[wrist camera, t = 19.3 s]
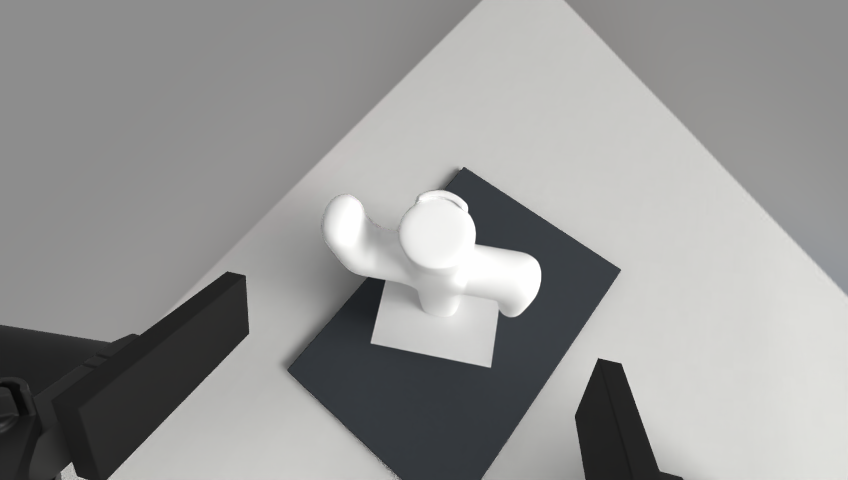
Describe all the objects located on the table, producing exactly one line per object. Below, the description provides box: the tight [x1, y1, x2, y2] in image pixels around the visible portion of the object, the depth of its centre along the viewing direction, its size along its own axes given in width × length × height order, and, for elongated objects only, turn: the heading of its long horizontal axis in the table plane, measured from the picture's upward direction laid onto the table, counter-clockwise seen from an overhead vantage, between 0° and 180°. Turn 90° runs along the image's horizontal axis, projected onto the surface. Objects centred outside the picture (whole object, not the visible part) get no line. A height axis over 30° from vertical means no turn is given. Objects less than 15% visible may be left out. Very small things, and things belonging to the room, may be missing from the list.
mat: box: [288, 167, 621, 480], centre depth 29 cm, size 20×14×1 cm
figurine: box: [321, 190, 541, 368], centre depth 22 cm, size 7×9×15 cm
